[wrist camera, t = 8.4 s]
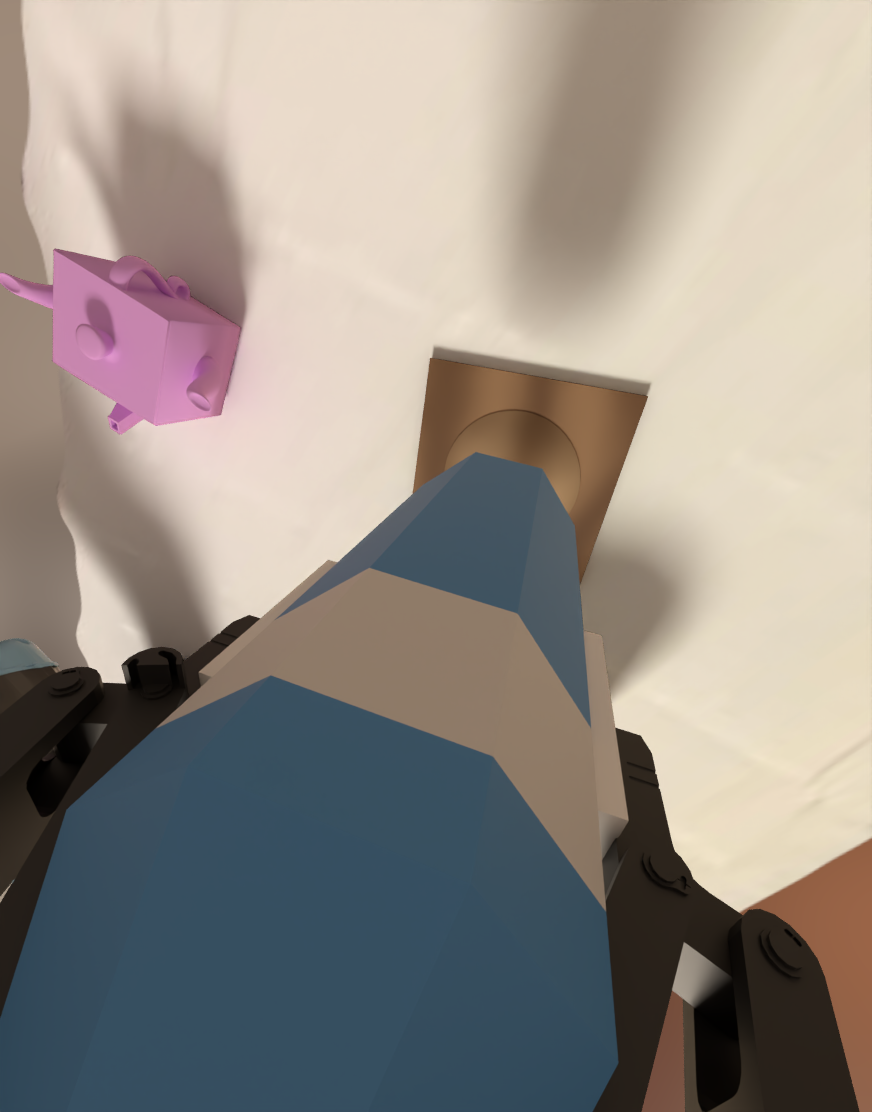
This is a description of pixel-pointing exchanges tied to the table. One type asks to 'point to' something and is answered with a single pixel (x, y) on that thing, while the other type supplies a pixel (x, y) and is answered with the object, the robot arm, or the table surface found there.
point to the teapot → (135, 338)
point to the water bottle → (348, 851)
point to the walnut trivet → (531, 434)
